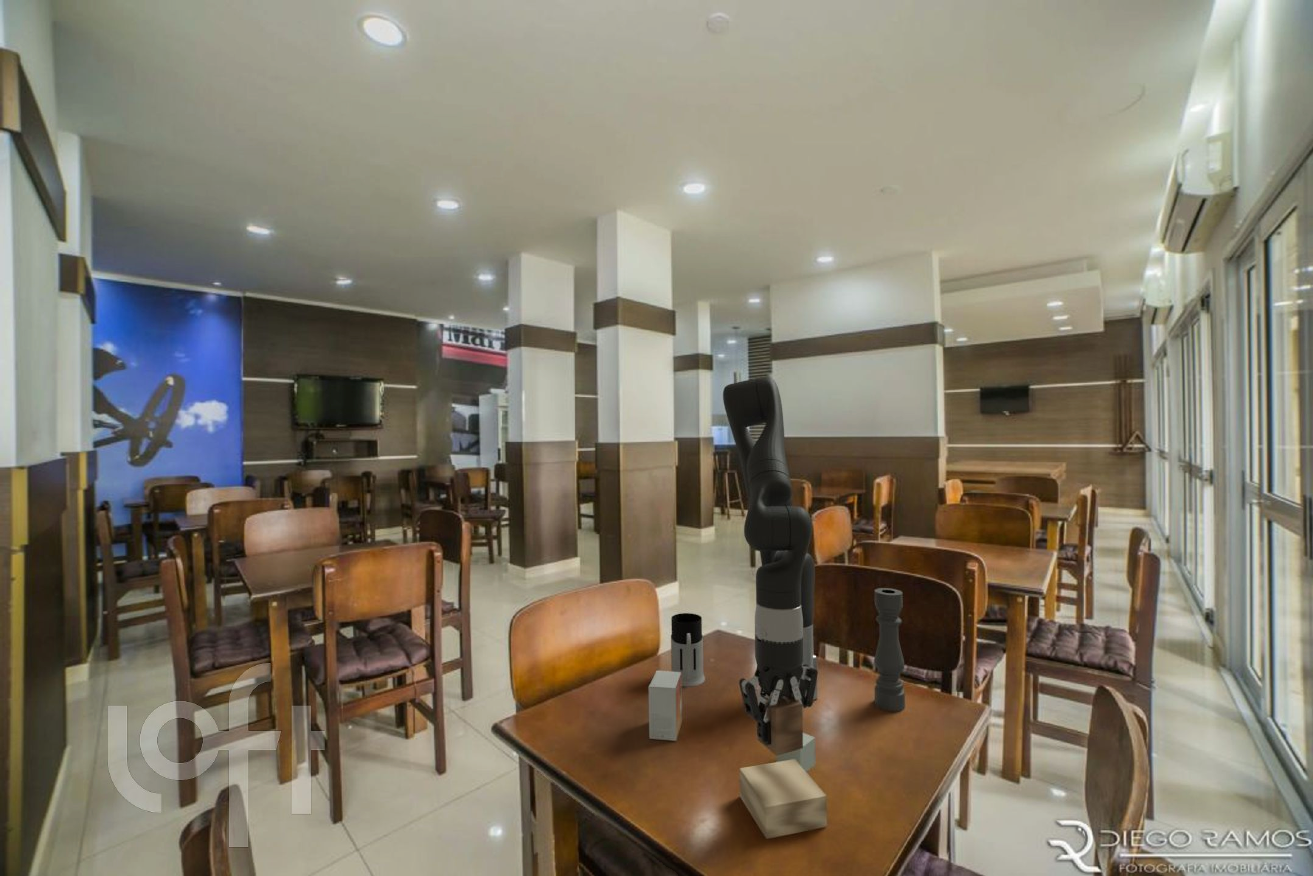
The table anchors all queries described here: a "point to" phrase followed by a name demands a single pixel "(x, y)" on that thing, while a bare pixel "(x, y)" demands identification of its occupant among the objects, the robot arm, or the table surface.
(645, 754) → the table surface
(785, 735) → the walnut block
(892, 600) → the candle holder
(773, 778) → the oak block
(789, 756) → the grey cube
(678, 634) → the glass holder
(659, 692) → the small box
